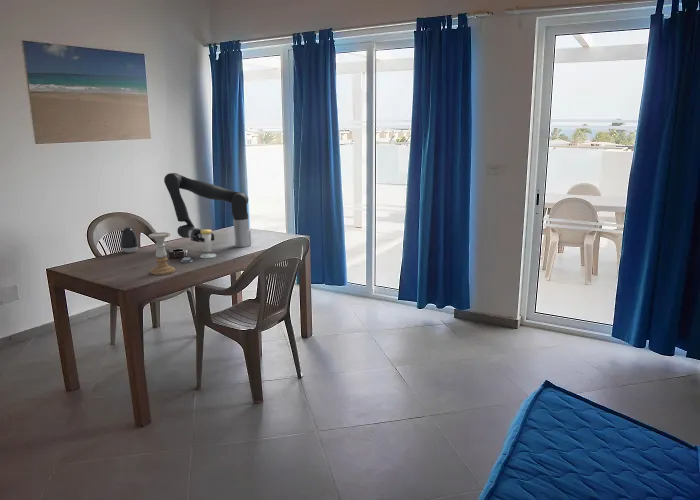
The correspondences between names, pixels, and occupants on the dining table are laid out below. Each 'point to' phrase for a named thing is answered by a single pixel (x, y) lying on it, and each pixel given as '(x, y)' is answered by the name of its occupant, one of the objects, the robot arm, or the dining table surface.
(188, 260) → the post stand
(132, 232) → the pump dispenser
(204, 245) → the glass jar
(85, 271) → the dining table surface
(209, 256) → the coaster
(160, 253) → the candle holder
